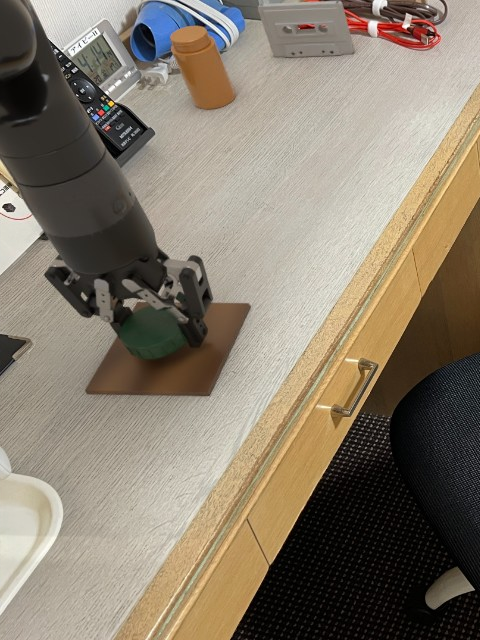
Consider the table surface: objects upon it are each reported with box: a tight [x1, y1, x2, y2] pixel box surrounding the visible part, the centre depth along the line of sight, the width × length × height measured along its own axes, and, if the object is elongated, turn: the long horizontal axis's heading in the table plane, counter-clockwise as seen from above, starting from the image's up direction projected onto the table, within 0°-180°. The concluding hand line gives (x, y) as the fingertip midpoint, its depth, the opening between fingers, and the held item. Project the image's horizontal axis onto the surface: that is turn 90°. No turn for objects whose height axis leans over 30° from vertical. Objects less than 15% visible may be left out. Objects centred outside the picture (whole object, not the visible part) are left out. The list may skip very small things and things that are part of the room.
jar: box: [169, 25, 237, 110], centre depth 111 cm, size 6×6×10 cm
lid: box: [120, 305, 187, 359], centre depth 79 cm, size 6×6×2 cm
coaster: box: [84, 301, 251, 397], centre depth 82 cm, size 12×12×1 cm
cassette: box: [257, 0, 355, 58], centre depth 120 cm, size 12×2×8 cm, turn 92°
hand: (167, 340), depth 81 cm, fingers closed on lid, 5 cm apart
